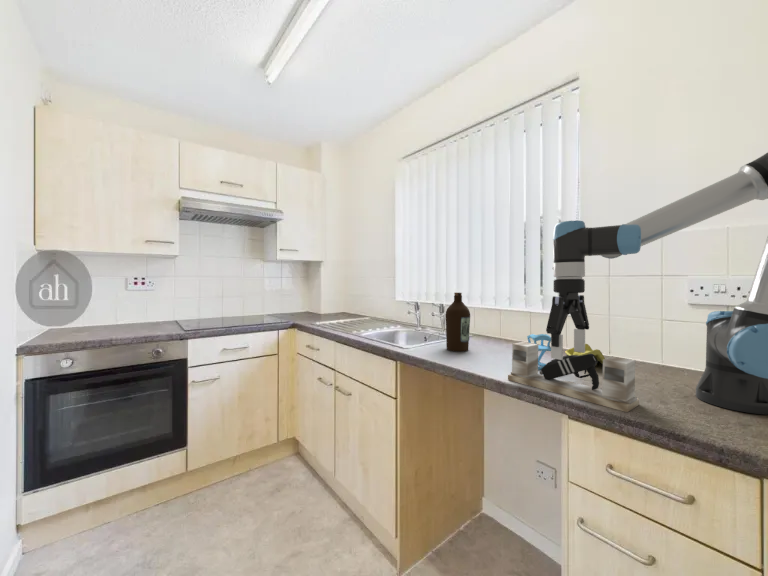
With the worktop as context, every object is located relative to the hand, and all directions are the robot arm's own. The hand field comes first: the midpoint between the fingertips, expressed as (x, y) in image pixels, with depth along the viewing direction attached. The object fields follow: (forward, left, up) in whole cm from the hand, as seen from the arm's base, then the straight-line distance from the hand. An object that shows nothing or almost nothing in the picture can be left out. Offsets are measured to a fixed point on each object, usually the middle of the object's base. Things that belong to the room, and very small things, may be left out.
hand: (568, 355), depth 92 cm
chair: (+18, -19, -10) cm, 28 cm away
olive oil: (+54, -18, -10) cm, 58 cm away
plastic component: (+11, -37, -10) cm, 40 cm away
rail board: (0, 0, -10) cm, 10 cm away
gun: (0, 0, -8) cm, 8 cm away
